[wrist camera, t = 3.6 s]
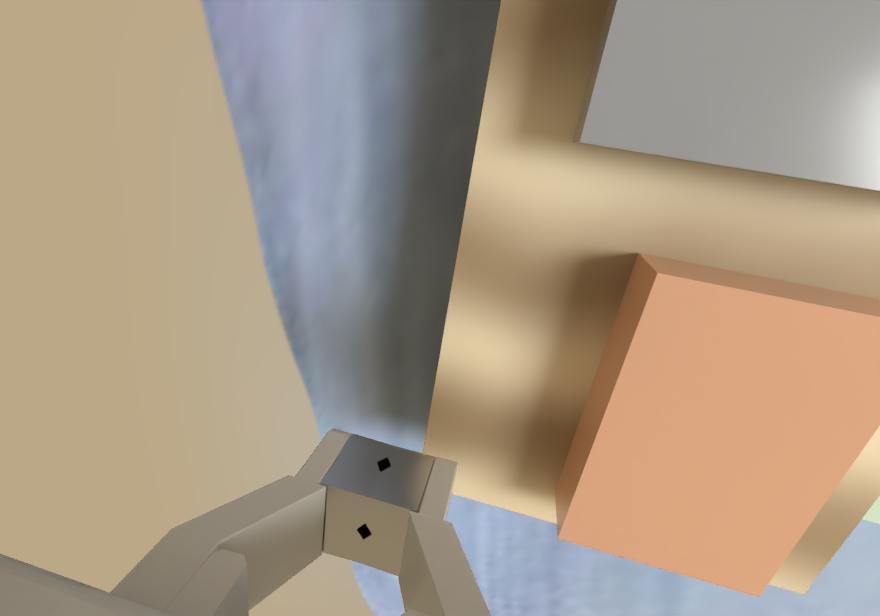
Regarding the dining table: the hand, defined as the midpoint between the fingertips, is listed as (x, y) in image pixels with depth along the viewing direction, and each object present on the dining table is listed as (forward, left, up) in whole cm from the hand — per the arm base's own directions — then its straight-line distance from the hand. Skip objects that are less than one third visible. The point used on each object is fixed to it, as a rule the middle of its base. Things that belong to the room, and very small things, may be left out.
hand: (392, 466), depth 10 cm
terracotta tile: (0, +8, -5) cm, 10 cm away
